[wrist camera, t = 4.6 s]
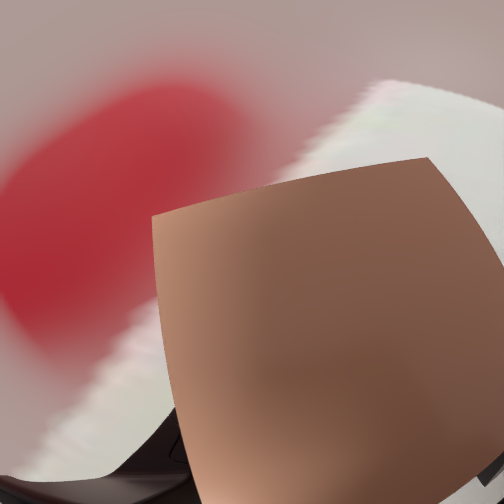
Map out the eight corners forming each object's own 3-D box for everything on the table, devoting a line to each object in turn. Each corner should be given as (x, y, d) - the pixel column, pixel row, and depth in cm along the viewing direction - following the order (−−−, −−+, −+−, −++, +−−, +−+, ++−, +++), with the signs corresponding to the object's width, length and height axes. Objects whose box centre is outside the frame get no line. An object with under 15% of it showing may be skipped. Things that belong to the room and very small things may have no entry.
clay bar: (354, 416, 13) (549, 399, 2) (267, 444, 12) (230, 571, 1) (327, 338, 15) (427, 157, 4) (244, 363, 15) (152, 217, 4)
